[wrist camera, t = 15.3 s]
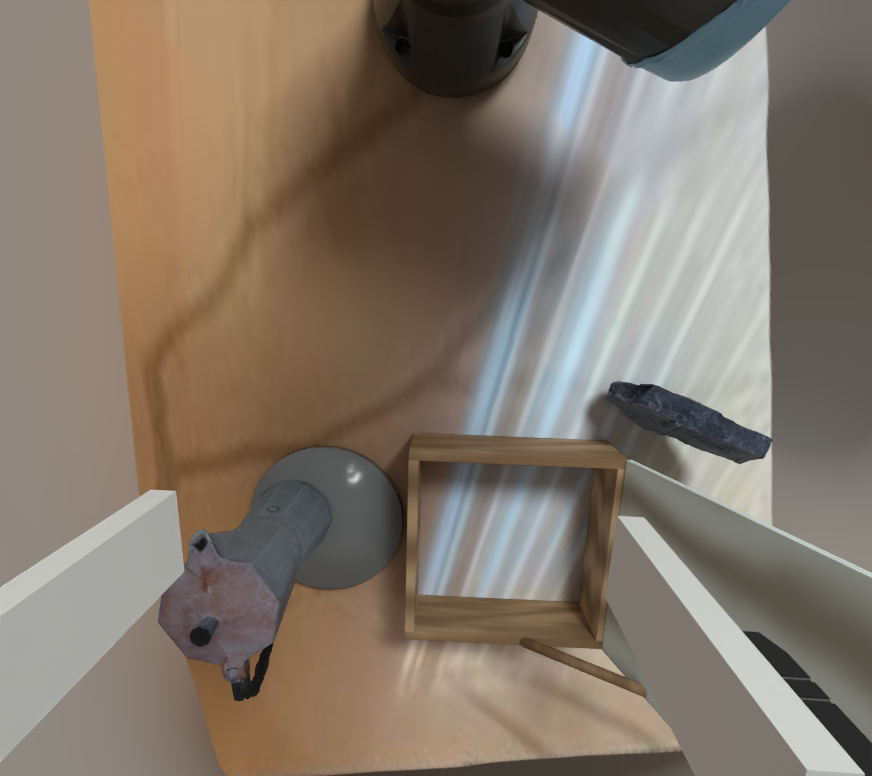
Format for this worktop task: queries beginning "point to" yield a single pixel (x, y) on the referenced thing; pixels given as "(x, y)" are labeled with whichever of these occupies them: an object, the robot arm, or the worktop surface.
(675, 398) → the stone
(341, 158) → the worktop surface
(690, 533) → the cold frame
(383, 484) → the disc
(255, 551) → the moka pot
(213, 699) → the worktop surface
